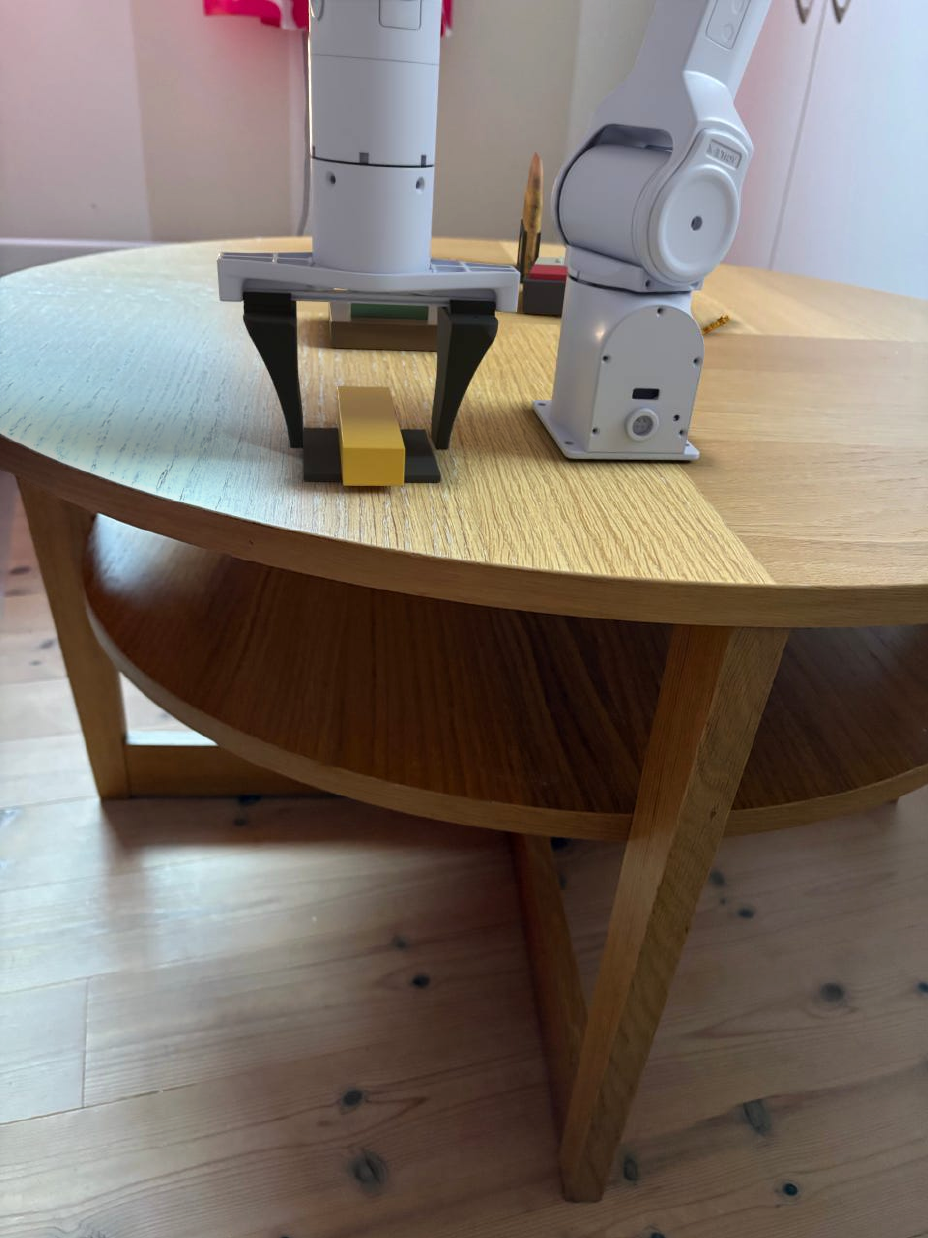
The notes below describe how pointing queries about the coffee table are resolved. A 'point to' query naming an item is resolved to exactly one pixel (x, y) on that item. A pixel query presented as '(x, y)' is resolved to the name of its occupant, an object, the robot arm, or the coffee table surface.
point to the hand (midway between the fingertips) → (369, 442)
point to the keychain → (715, 324)
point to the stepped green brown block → (383, 326)
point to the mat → (326, 457)
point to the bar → (369, 437)
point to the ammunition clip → (531, 219)
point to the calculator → (545, 286)
